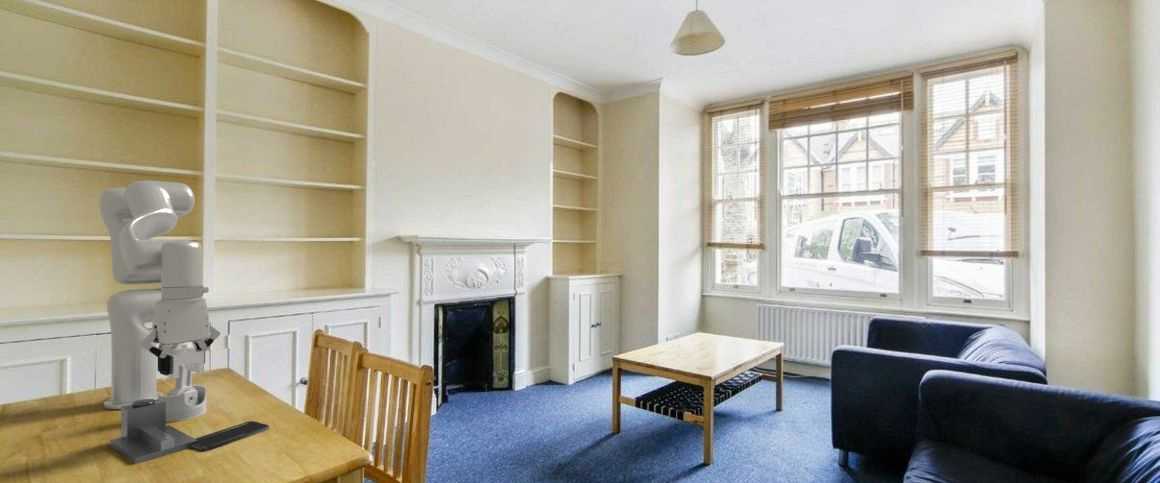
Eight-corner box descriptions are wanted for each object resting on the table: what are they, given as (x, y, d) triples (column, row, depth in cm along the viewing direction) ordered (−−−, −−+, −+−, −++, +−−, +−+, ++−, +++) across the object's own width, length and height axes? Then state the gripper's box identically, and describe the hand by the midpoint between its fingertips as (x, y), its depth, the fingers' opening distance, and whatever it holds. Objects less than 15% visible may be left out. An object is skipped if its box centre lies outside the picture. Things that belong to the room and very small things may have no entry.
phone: (183, 442, 115) (251, 420, 129) (184, 447, 115) (251, 424, 129) (204, 449, 112) (271, 425, 125) (204, 454, 112) (271, 430, 125)
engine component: (147, 419, 130) (179, 423, 128) (147, 340, 130) (179, 342, 128) (188, 405, 141) (218, 408, 139) (188, 332, 141) (218, 333, 139)
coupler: (109, 445, 114) (109, 406, 114) (169, 430, 124) (169, 393, 124) (135, 463, 106) (135, 421, 106) (197, 445, 115) (197, 406, 115)
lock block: (173, 378, 115) (173, 356, 115) (159, 373, 118) (159, 352, 118) (204, 372, 120) (204, 351, 120) (189, 368, 124) (189, 347, 124)
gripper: (215, 289, 128) (215, 361, 128) (128, 296, 113) (128, 377, 114) (230, 291, 124) (230, 365, 124) (142, 298, 110) (142, 382, 110)
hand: (182, 370), depth 119 cm, fingers closed on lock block, 6 cm apart
